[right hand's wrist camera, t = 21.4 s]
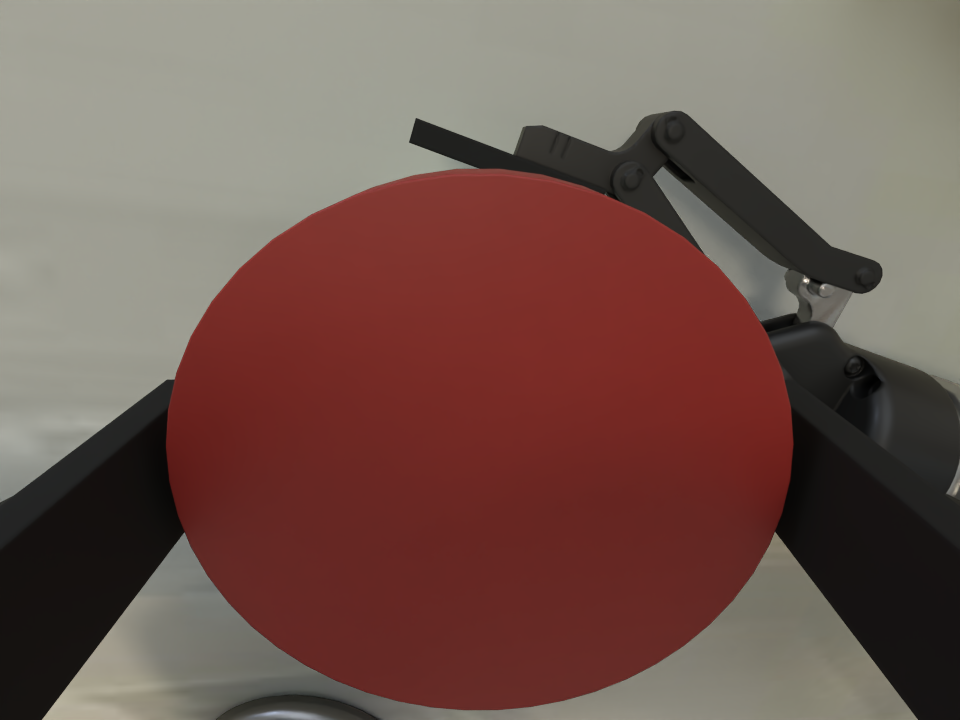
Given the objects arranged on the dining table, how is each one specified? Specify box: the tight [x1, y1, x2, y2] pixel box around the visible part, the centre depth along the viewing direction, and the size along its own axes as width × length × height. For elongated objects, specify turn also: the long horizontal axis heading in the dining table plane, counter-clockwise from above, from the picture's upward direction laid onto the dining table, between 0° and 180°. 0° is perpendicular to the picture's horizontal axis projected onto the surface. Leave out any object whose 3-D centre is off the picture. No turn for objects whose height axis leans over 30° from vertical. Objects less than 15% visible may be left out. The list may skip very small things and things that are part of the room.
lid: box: [166, 169, 793, 710], centre depth 11 cm, size 12×12×2 cm
